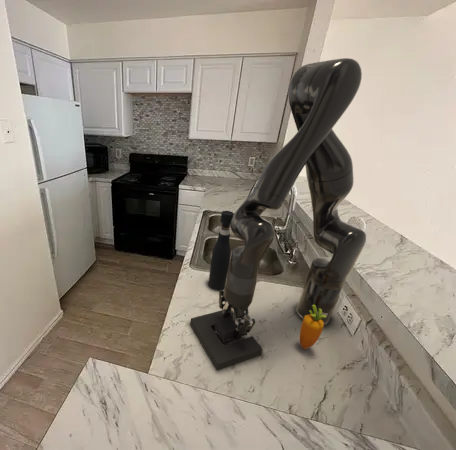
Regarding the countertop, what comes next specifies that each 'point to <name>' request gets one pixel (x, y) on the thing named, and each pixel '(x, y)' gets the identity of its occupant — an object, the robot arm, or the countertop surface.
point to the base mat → (215, 348)
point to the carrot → (311, 328)
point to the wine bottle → (221, 254)
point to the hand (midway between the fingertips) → (230, 330)
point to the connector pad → (226, 328)
